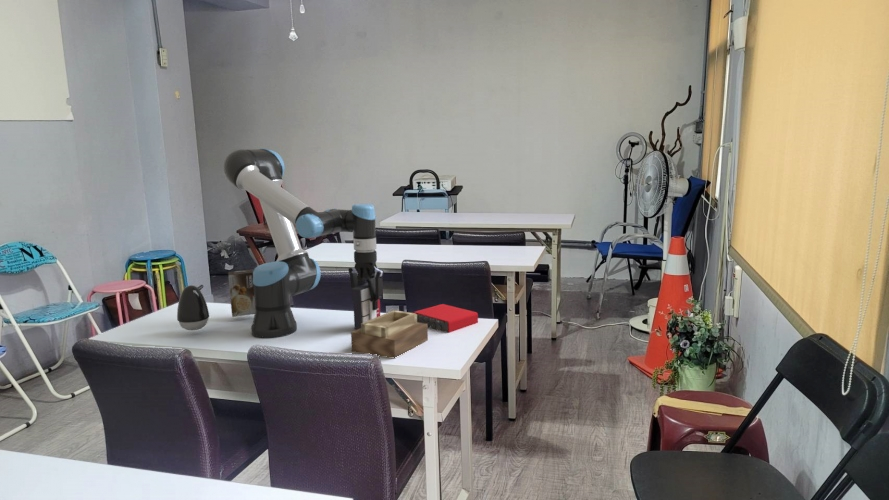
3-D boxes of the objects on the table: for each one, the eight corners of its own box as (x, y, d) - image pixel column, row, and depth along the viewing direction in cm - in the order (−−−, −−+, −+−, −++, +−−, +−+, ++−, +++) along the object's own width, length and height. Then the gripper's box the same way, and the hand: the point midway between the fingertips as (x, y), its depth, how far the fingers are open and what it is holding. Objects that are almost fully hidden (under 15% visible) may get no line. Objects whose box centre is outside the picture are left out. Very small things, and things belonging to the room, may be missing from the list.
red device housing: (412, 325, 207) (412, 311, 206) (441, 316, 217) (441, 303, 216) (449, 336, 195) (448, 321, 194) (477, 326, 205) (477, 312, 204)
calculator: (363, 333, 198) (361, 289, 195) (353, 331, 200) (351, 288, 197) (382, 324, 207) (380, 282, 205) (371, 323, 209) (370, 281, 207)
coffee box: (256, 310, 228) (253, 269, 226) (257, 314, 223) (254, 272, 220) (231, 312, 225) (227, 271, 222) (231, 317, 219) (228, 274, 217)
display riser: (351, 351, 180) (350, 322, 179) (386, 334, 196) (385, 308, 194) (395, 360, 172) (394, 330, 171) (427, 342, 188) (427, 314, 186)
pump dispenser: (216, 325, 209) (213, 283, 206) (193, 334, 200) (189, 290, 197) (195, 322, 213) (192, 281, 211) (171, 330, 204) (167, 287, 201)
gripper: (338, 250, 200) (341, 317, 204) (379, 254, 191) (381, 324, 195) (352, 247, 206) (355, 312, 210) (392, 250, 198) (394, 318, 202)
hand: (367, 317), depth 203 cm, fingers closed on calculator, 4 cm apart
